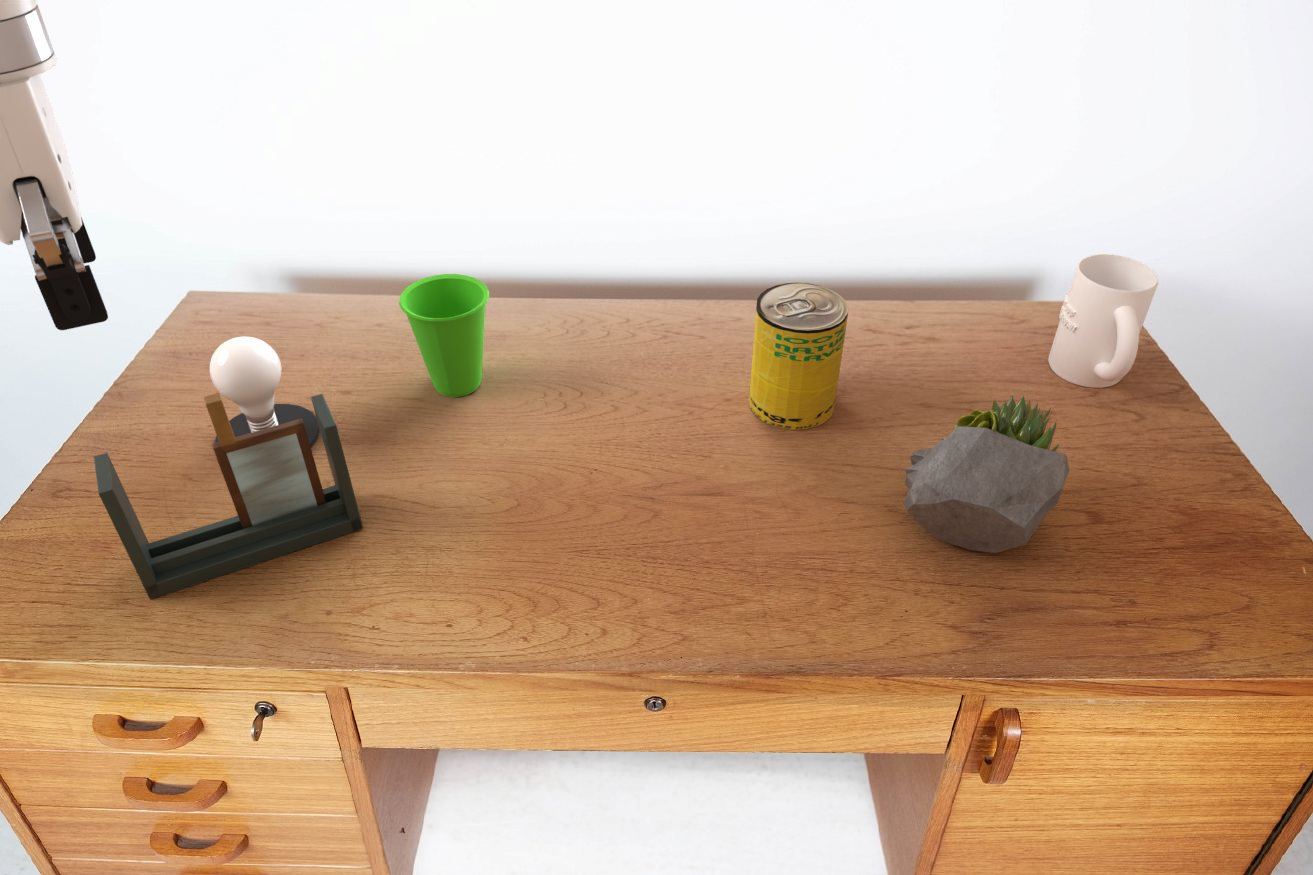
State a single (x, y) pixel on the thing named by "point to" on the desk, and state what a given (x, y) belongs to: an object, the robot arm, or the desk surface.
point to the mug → (1102, 320)
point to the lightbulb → (248, 378)
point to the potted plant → (988, 479)
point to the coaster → (281, 421)
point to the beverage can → (797, 355)
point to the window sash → (265, 468)
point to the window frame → (231, 526)
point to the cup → (449, 329)
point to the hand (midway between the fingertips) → (78, 292)
